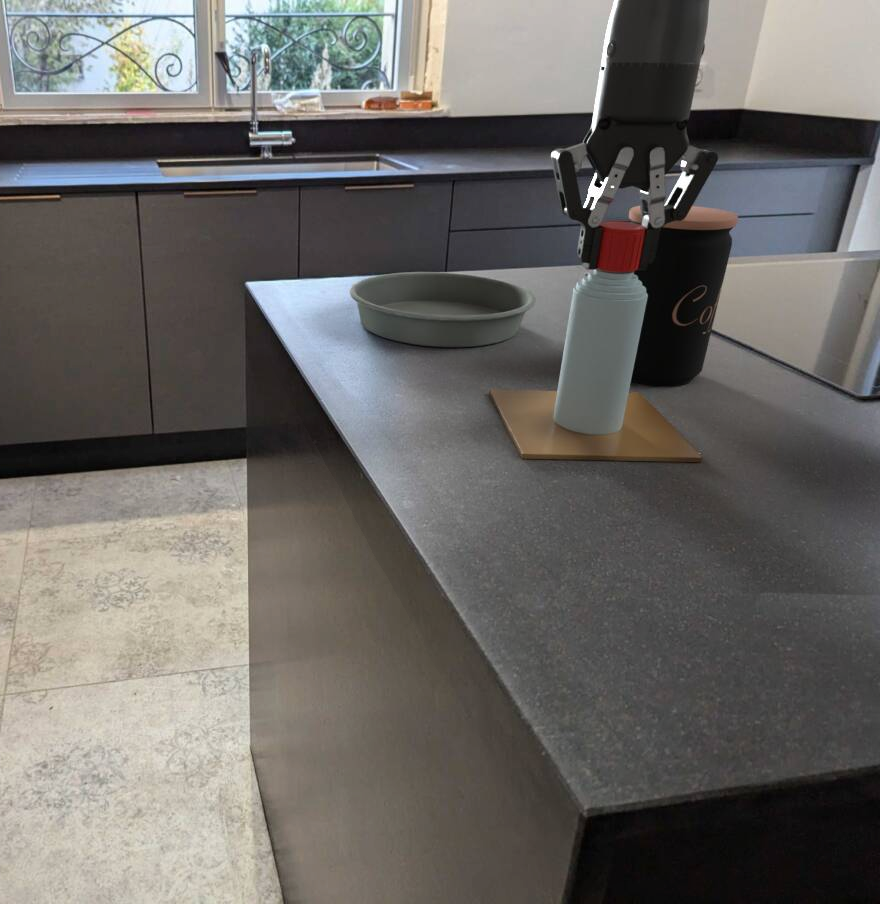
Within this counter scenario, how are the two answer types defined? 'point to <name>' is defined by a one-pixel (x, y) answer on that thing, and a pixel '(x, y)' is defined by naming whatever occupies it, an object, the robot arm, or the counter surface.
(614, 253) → the cap
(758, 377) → the counter surface
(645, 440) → the mat
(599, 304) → the bottle
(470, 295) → the cake pan
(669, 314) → the coffee jar
